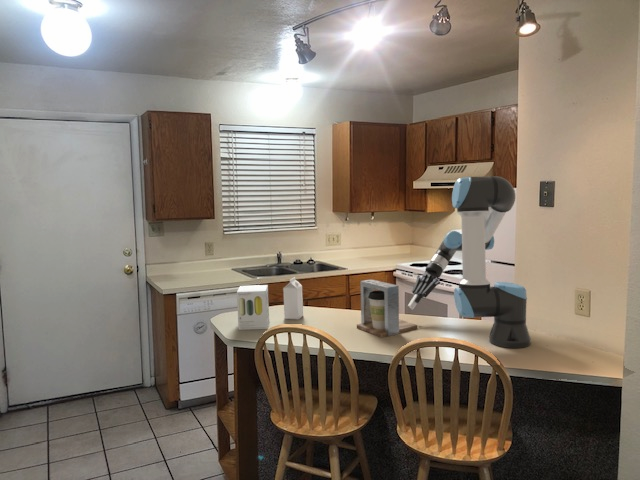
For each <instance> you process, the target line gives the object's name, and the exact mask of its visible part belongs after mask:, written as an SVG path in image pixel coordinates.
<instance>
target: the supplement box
mask: <svg viewBox="0 0 640 480" xmlns="http://www.w3.org/2000/svg"><path fill="white" fill-rule="evenodd" d="M236 302H237V305H236V306H237V324H238V325H237V326H238V327H237V328H238V331H242V330H249V331H250V330H267V329H268V328H269V325H270V309H269V308H270V307H269V306H270V305H269V285H268V284H258V285H255V284H254V285H253V284H252V285H240V286H239V287H238V289H237V291H236Z"/></svg>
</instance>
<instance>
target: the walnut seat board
mask: <svg viewBox="0 0 640 480" xmlns="http://www.w3.org/2000/svg"><path fill="white" fill-rule="evenodd" d="M356 329H359V330H360V331H364V332H367V333H370V334H371V335H375V336H377V337H380V338H384V337H388V336H387V332H385V329H375V328H373V323H372V322H371V323H367V324H361V323H359V324H356ZM416 329H418V324H415V323H412V322H409V321H406V320H404V319H403V320H402V319H400V318H399V334H400V333H405V332H408V331H412V330H416Z"/></svg>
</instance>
